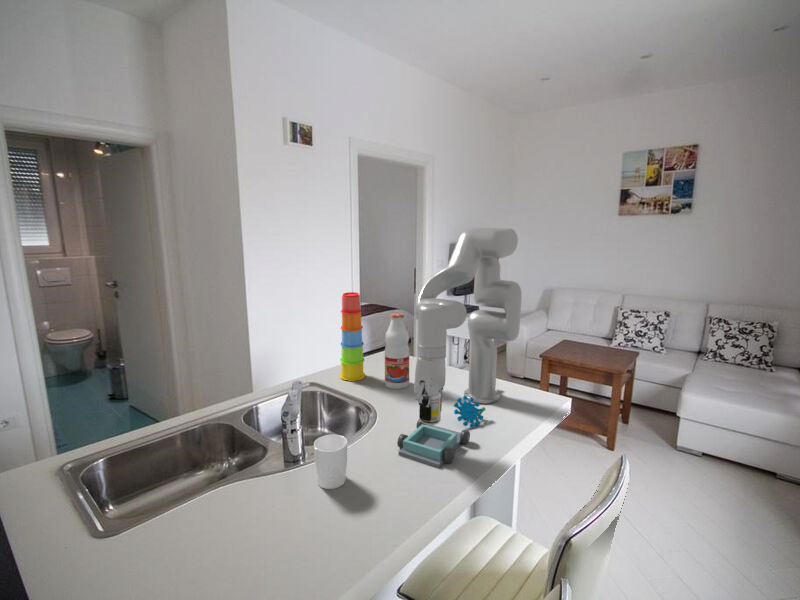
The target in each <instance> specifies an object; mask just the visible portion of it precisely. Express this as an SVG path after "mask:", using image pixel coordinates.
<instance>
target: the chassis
mask: <svg viewBox="0 0 800 600" xmlns="http://www.w3.org/2000/svg"><path fill="white" fill-rule="evenodd" d="M470 436H471V432H470V431H469V430H465V429H463V430H461V432H459V431H455V430H453V429H447V428H445V427H440V426H438V425H426V424H423V423H422V422H421V420H420V418H418V420H417V423H416V429H415V430H414V431H412V432H411V434H409V435H407V434H404V433H401V434H400V435H399V436H398V438H397V443H396V444H397V447H398V448H400V449H399V450H398V456H400V457H404V458H406V459H409V460H413V461H416V462H420V463H422V464H425V465H429V466H431V467H434V468H437V469H440V467H442V466H443V464H444V463H448V464H452V463H453V460H454V459H455V451H456V449H457V448H458V447H459V445H461V444H464V445H468V443H469V442H470Z"/></svg>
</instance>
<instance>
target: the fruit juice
mask: <svg viewBox="0 0 800 600" xmlns="http://www.w3.org/2000/svg"><path fill="white" fill-rule="evenodd" d="M404 315H405V314H404V313H401V312H393V313H390V315H389V316H390V322H389V325H388V328H387V331H386V332H385V335H384V340H385V343H386V346H385V348H384V384H385V386H386V387H387V388H388V389H392V390H393V389H395V390H400V389H405V388H407V387H408V386H409V385H410V347H409V341H410V335H409V332H408V330H407V329H406V325H405V322H404V317H405V316H404Z"/></svg>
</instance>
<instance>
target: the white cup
mask: <svg viewBox="0 0 800 600" xmlns="http://www.w3.org/2000/svg"><path fill="white" fill-rule="evenodd" d="M313 452H314V454H313V455H314V463H315V472H316V476H317V477H316V479H317V484H318V486H319V487H320V488H322V489H325V490H334V489H337V488H340V487H341V486H342V485H344V484H345V483H346V480H347V466H348V464H347V462H348V439H347V438H346V437H345V436H343V435H340V434H326V435H322V436H320V437H318V438H316V439H315V440H314V441H313Z"/></svg>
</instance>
